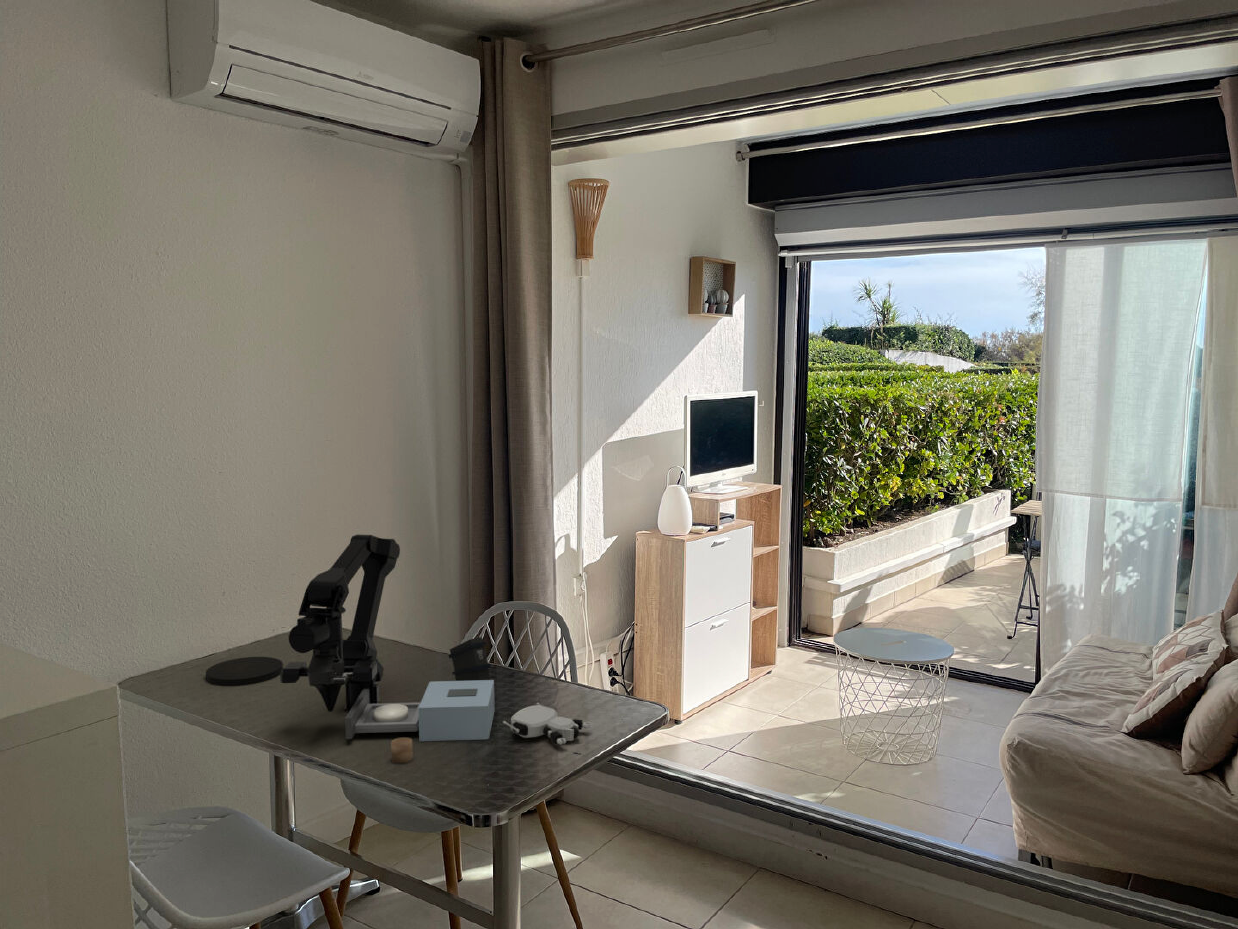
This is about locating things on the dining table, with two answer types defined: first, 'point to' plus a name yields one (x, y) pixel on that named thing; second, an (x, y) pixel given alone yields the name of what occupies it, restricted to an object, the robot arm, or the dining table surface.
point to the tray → (364, 722)
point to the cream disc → (391, 713)
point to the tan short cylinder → (401, 750)
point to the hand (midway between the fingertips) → (331, 711)
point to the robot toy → (545, 724)
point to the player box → (456, 710)
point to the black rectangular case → (470, 661)
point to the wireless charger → (244, 671)
